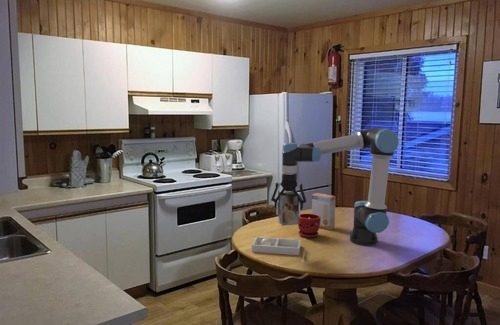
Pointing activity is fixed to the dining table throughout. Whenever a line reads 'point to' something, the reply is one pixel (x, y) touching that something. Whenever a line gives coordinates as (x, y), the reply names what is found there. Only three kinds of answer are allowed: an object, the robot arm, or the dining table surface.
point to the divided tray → (277, 246)
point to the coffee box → (288, 209)
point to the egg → (265, 242)
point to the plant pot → (309, 225)
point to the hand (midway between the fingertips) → (288, 214)
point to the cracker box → (324, 209)
